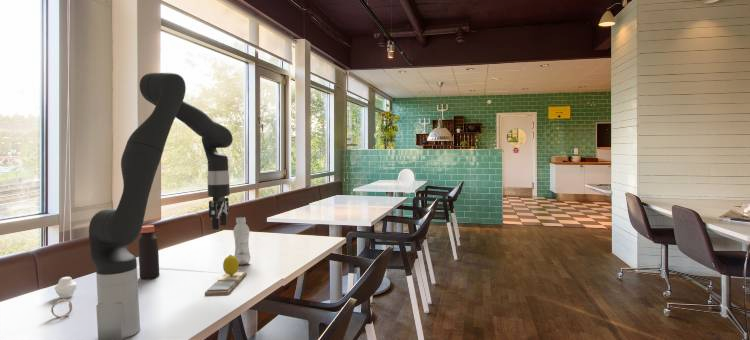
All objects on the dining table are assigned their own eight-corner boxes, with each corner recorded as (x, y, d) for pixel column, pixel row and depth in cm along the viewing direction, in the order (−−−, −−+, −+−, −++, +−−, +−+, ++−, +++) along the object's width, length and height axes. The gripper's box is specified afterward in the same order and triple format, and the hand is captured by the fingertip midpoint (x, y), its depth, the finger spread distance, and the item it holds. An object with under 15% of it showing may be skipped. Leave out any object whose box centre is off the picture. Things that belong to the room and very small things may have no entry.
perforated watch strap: (72, 315, 125) (71, 298, 125) (53, 320, 122) (52, 303, 121) (70, 312, 127) (69, 296, 127) (51, 317, 123) (49, 301, 123)
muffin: (51, 300, 138) (50, 280, 138) (60, 294, 144) (58, 274, 144) (73, 298, 140) (71, 278, 139) (80, 292, 146) (79, 273, 145)
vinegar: (135, 279, 160) (132, 227, 159) (149, 274, 167) (146, 224, 166) (150, 280, 158) (147, 228, 157) (163, 274, 165) (161, 224, 164)
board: (228, 294, 140) (228, 290, 140) (204, 295, 140) (204, 291, 139) (246, 275, 162) (246, 271, 162) (225, 275, 162) (225, 271, 161)
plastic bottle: (233, 263, 179) (231, 217, 178) (249, 261, 182) (247, 216, 181) (235, 267, 173) (233, 219, 172) (251, 265, 176) (250, 218, 175)
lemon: (234, 278, 153) (233, 256, 152) (220, 278, 154) (219, 256, 153) (241, 273, 158) (240, 253, 158) (228, 273, 159) (227, 252, 159)
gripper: (222, 184, 145) (223, 230, 146) (234, 181, 160) (236, 223, 160) (200, 184, 145) (202, 230, 146) (215, 182, 159) (216, 224, 160)
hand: (219, 227), depth 153 cm, fingers open, 8 cm apart
